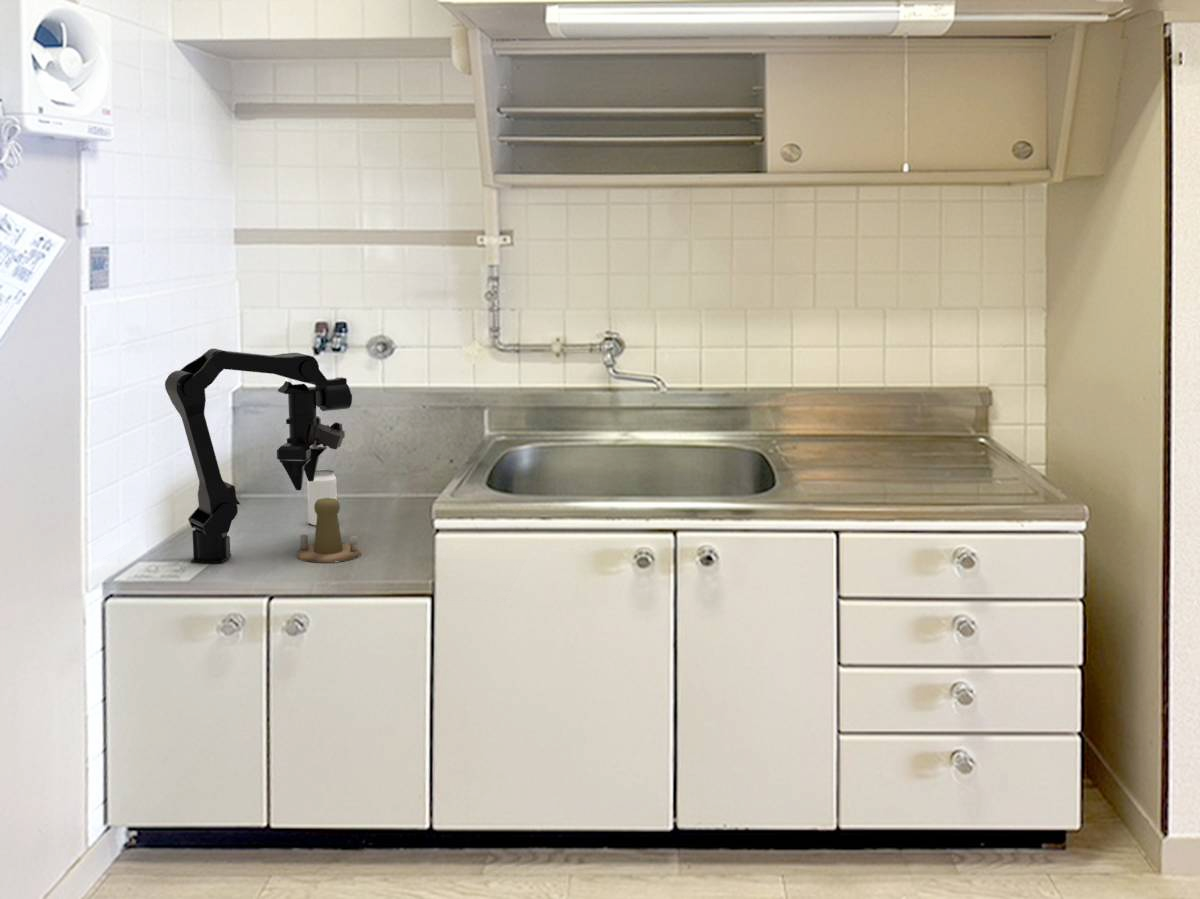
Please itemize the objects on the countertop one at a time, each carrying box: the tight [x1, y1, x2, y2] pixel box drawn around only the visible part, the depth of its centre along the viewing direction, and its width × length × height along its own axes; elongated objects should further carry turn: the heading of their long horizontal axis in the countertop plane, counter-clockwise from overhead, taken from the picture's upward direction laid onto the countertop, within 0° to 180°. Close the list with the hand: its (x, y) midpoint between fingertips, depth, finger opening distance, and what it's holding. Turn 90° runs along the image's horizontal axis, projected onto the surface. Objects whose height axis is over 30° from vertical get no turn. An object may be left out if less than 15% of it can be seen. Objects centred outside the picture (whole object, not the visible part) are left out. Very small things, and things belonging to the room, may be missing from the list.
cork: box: [313, 498, 343, 554], centre depth 297 cm, size 6×6×11 cm
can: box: [306, 469, 338, 527], centre depth 325 cm, size 6×6×12 cm
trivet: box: [296, 534, 362, 563], centre depth 298 cm, size 13×13×4 cm
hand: (304, 485), depth 304 cm, fingers open, 9 cm apart
